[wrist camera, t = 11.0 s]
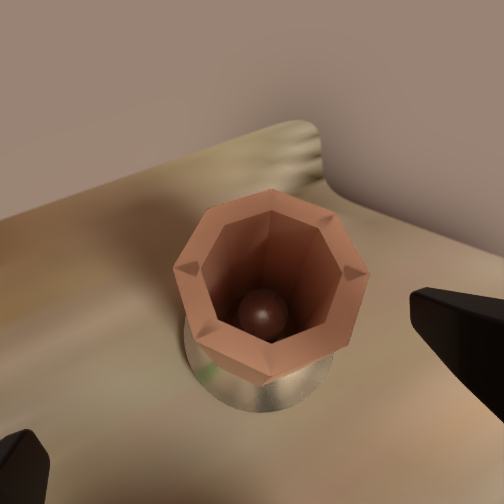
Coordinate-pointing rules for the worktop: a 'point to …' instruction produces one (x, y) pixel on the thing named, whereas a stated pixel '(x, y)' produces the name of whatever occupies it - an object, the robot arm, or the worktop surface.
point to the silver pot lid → (265, 328)
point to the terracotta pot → (271, 282)
